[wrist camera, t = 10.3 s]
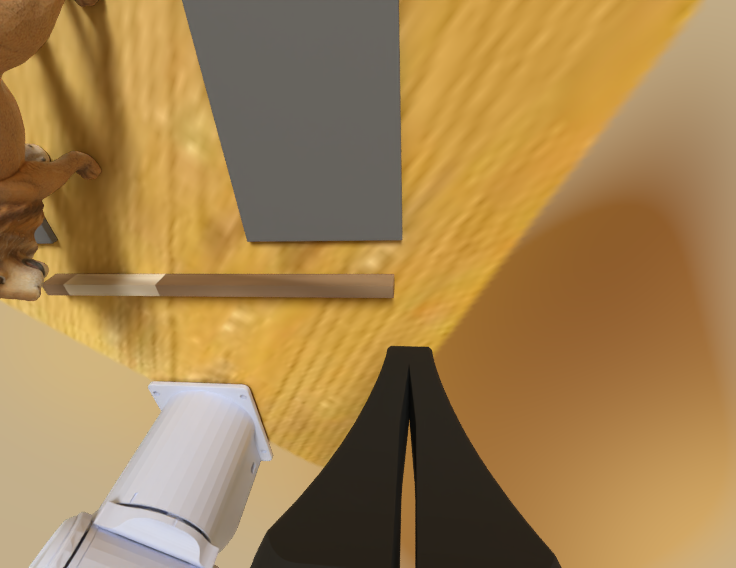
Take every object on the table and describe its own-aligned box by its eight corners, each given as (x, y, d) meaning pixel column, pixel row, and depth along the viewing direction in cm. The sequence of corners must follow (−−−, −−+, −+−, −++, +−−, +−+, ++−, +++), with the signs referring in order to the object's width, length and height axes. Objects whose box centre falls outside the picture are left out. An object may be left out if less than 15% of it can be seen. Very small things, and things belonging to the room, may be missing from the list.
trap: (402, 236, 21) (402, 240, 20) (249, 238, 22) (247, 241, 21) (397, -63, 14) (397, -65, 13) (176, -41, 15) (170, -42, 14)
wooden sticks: (394, 285, 22) (393, 298, 21) (62, 284, 25) (47, 295, 24) (379, -198, 12) (376, -217, 11) (-186, -116, 15) (-229, -125, 14)
